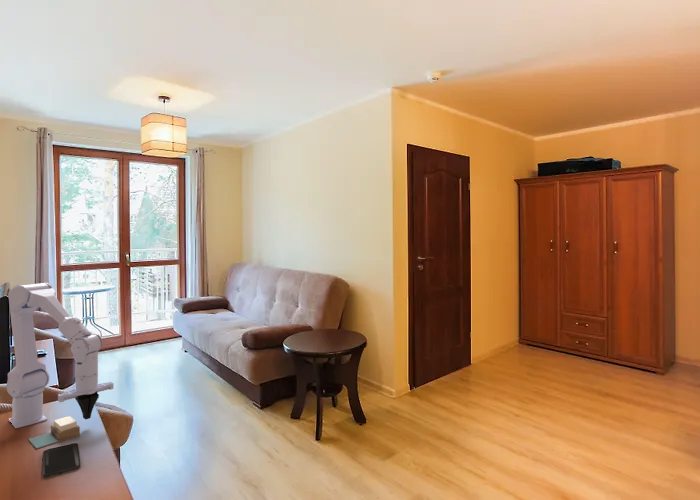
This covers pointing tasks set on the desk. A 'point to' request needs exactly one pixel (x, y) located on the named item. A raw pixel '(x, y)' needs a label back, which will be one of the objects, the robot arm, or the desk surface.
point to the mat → (43, 440)
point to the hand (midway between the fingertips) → (86, 417)
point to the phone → (60, 460)
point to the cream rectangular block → (65, 423)
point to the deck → (65, 433)
